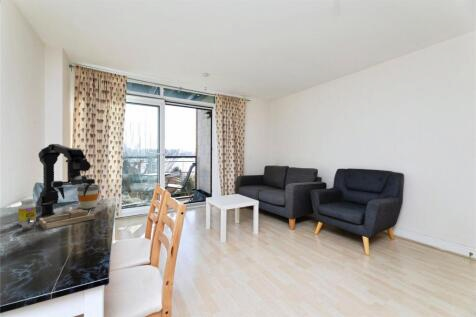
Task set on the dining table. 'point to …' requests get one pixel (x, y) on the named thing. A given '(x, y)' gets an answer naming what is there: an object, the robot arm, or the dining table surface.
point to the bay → (64, 222)
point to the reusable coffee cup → (88, 196)
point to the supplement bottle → (27, 210)
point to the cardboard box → (76, 213)
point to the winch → (27, 224)
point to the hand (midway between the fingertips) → (74, 197)
